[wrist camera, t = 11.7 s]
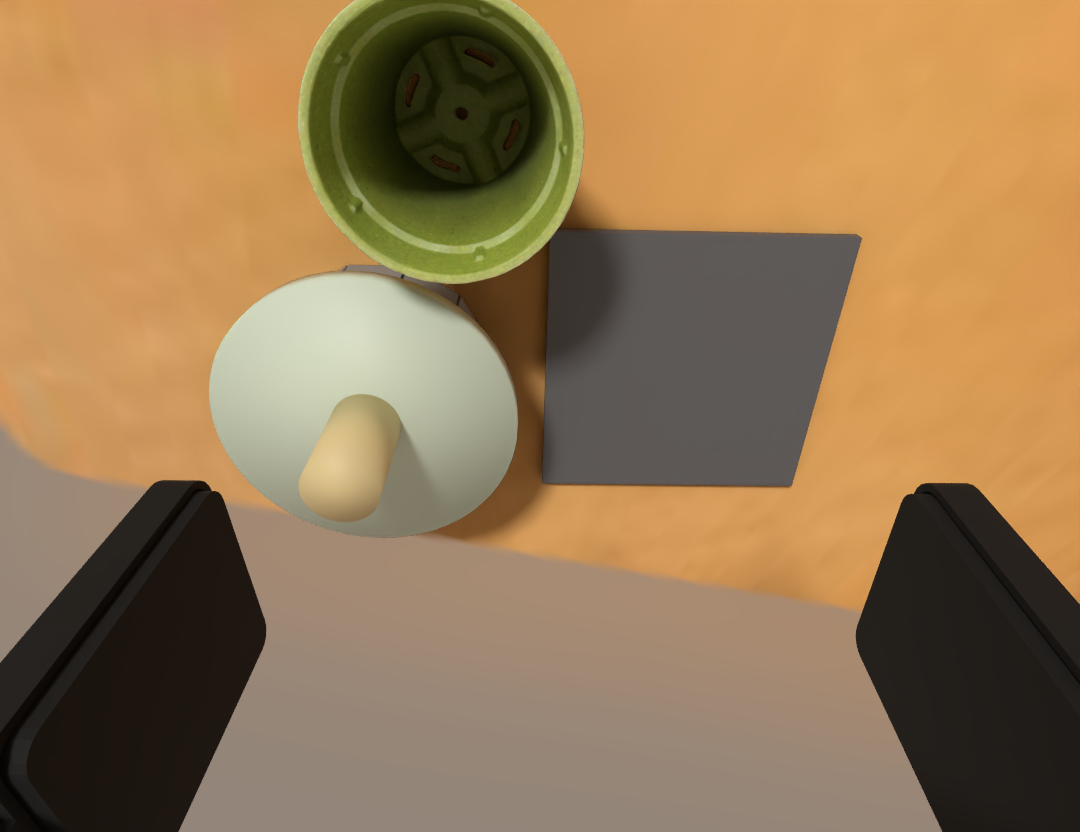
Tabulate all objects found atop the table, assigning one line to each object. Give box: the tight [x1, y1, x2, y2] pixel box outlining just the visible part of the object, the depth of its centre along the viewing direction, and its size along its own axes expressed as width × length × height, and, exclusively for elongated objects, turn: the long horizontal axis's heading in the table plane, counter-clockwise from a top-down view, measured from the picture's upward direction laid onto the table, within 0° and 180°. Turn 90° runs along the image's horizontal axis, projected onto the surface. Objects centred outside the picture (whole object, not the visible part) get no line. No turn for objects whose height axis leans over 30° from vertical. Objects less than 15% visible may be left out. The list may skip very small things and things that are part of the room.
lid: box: [209, 270, 518, 538], centre depth 29 cm, size 14×14×6 cm
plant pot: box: [298, 0, 584, 284], centre depth 25 cm, size 9×9×9 cm
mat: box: [542, 229, 862, 486], centre depth 35 cm, size 15×15×1 cm
